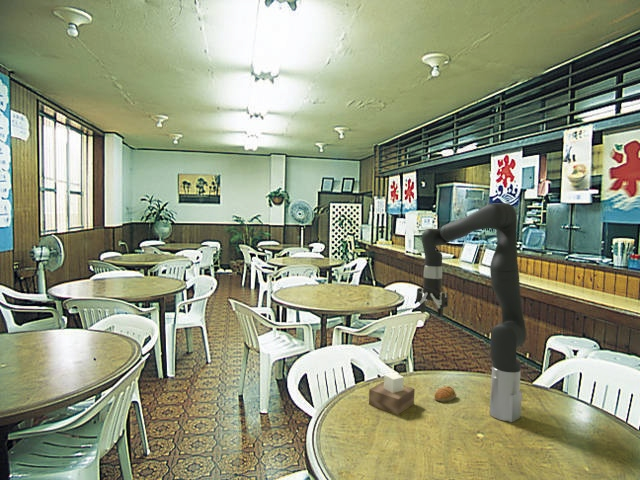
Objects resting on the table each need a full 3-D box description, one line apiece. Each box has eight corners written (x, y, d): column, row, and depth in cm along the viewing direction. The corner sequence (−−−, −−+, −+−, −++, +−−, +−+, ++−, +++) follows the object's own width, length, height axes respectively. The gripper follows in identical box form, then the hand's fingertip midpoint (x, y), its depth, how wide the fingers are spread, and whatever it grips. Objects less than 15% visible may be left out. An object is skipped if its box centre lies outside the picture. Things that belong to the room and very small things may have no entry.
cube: (403, 390, 158) (403, 377, 158) (392, 393, 156) (393, 379, 155) (393, 385, 162) (394, 372, 162) (383, 388, 160) (384, 374, 159)
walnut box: (413, 404, 160) (414, 388, 160) (397, 415, 151) (398, 399, 151) (386, 395, 168) (386, 380, 167) (368, 405, 159) (369, 389, 158)
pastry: (446, 405, 160) (446, 395, 160) (429, 399, 165) (430, 390, 164) (457, 397, 167) (457, 388, 167) (441, 392, 172) (441, 383, 171)
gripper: (452, 278, 177) (450, 317, 178) (424, 273, 188) (423, 310, 189) (441, 279, 173) (439, 319, 174) (413, 274, 184) (411, 312, 185)
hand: (431, 314), depth 182 cm, fingers open, 8 cm apart
